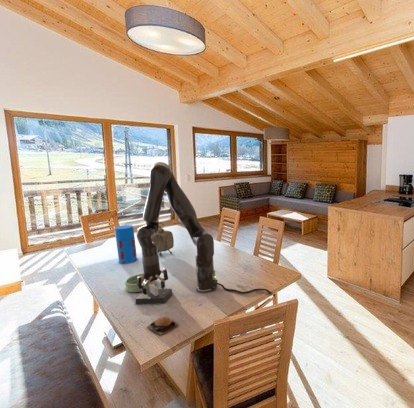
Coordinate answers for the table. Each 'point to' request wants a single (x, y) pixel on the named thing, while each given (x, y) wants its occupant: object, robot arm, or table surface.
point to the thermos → (125, 244)
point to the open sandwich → (162, 325)
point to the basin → (135, 284)
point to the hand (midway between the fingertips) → (154, 291)
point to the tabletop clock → (163, 240)
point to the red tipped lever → (153, 289)
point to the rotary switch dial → (154, 297)
